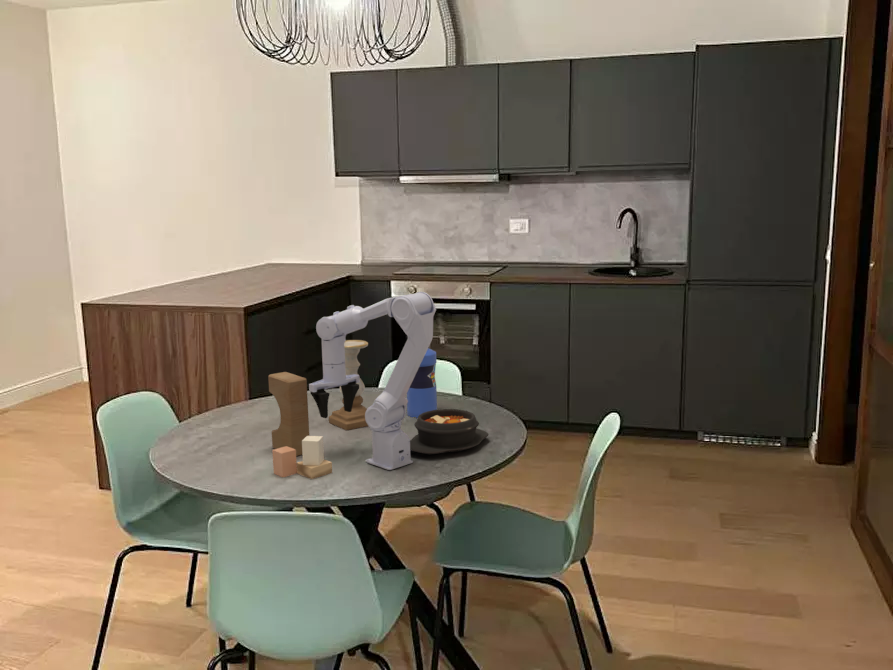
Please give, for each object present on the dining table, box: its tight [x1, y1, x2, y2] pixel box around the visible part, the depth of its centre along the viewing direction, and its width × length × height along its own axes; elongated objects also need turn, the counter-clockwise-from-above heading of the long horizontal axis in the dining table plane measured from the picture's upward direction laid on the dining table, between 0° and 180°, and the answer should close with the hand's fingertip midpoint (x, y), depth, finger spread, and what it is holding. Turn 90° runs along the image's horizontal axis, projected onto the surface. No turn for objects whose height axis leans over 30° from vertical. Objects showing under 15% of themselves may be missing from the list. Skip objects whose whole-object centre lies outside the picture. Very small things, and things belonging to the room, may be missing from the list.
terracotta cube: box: [272, 446, 298, 478], centre depth 195 cm, size 4×4×6 cm
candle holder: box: [328, 339, 369, 431], centre depth 235 cm, size 11×11×24 cm
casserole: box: [410, 408, 489, 455], centre depth 213 cm, size 25×19×8 cm
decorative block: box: [267, 371, 310, 457], centre depth 211 cm, size 11×6×20 cm, turn 38°
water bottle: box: [406, 347, 438, 419], centre depth 243 cm, size 9×9×25 cm
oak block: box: [296, 459, 333, 480], centre depth 195 cm, size 6×6×3 cm
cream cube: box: [301, 435, 325, 466], centre depth 194 cm, size 4×4×6 cm
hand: (336, 414), depth 208 cm, fingers open, 7 cm apart
